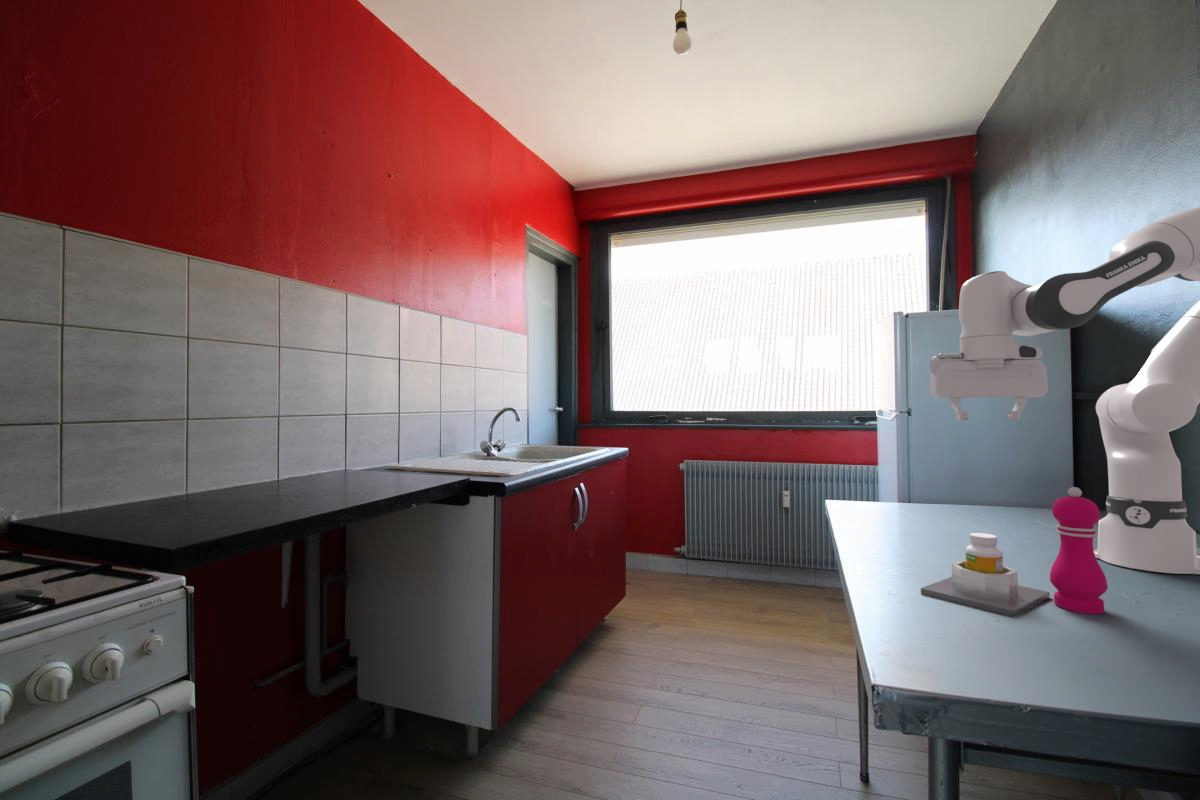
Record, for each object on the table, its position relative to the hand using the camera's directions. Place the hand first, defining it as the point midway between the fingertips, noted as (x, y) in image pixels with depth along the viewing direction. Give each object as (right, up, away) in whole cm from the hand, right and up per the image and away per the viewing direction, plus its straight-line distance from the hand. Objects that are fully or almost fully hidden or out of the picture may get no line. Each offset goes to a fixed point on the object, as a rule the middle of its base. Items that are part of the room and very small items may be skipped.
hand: (987, 420), depth 110 cm
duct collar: (-10, -31, -14) cm, 35 cm away
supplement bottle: (-10, -30, -14) cm, 35 cm away
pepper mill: (+1, -31, -20) cm, 37 cm away
